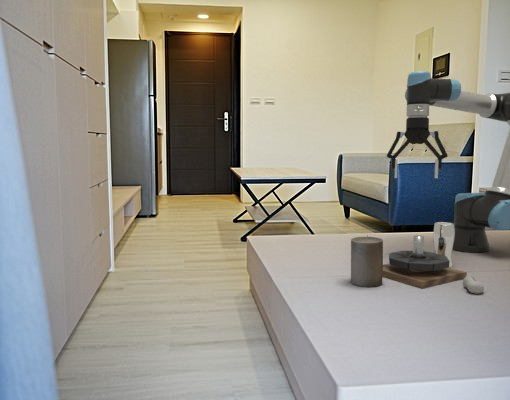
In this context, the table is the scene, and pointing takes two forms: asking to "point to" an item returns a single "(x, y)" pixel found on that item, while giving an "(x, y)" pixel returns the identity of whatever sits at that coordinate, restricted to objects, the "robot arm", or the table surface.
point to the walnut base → (422, 276)
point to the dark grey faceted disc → (418, 261)
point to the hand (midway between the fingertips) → (415, 178)
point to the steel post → (418, 247)
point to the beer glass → (444, 239)
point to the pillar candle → (366, 261)
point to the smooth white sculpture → (473, 285)
